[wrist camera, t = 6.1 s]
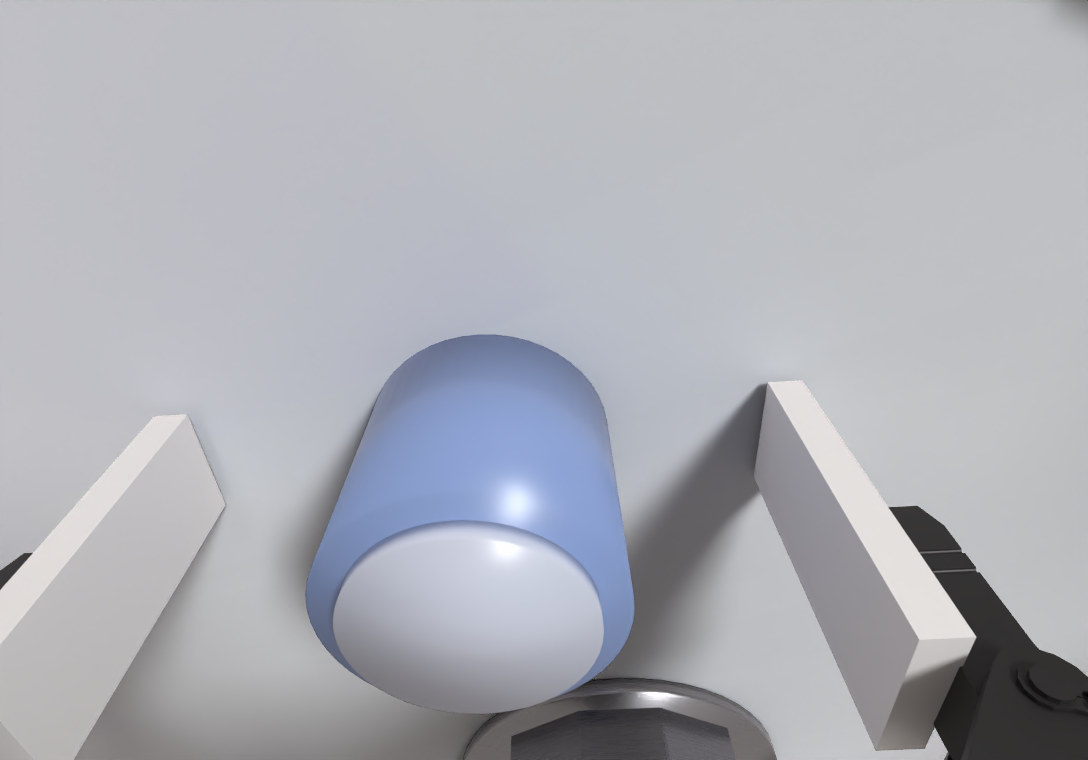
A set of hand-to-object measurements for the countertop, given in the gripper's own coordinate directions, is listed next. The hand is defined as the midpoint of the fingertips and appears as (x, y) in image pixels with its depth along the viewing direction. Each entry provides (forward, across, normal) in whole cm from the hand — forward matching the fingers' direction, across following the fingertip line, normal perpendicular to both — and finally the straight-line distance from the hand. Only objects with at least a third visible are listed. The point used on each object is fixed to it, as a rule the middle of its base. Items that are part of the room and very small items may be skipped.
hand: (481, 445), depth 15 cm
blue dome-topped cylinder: (0, 0, 0) cm, 0 cm away
